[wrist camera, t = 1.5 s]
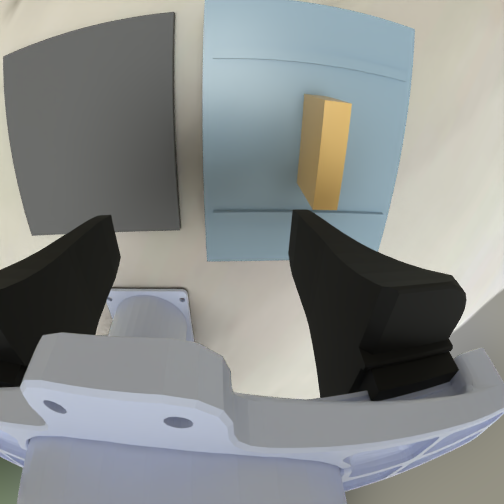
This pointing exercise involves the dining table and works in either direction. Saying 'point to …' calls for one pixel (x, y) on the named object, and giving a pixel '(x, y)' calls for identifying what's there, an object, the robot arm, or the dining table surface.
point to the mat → (96, 126)
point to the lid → (299, 122)
